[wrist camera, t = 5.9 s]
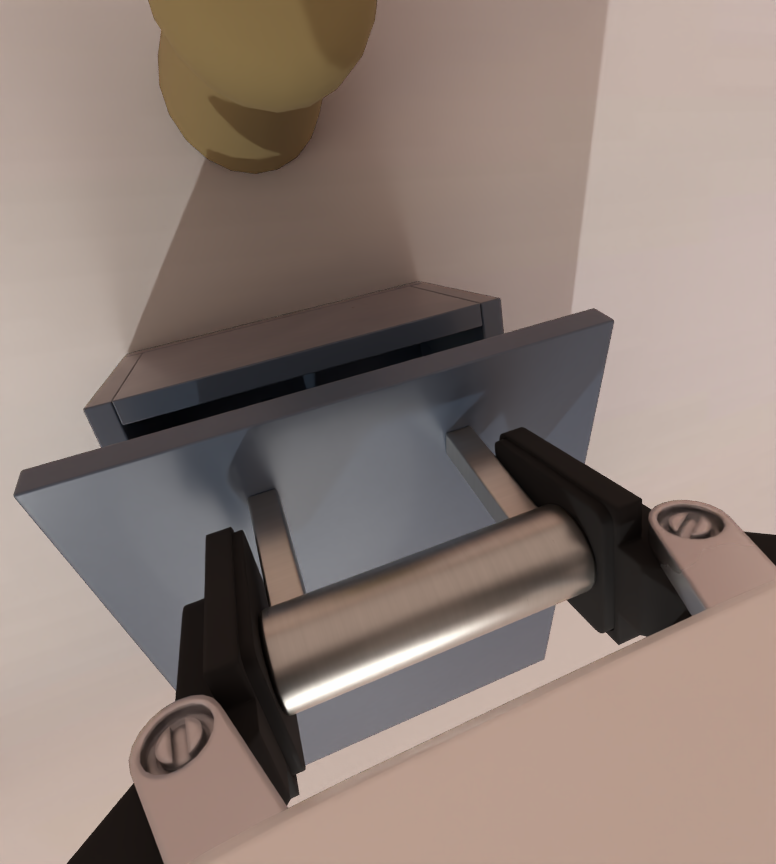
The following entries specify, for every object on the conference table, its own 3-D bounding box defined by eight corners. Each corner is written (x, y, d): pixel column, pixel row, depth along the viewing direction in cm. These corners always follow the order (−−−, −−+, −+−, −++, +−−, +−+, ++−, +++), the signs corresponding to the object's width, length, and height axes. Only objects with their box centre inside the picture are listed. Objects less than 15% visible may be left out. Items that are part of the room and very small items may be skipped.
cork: (209, 196, 20) (203, 157, 11) (122, 19, 18) (7, -253, 8) (343, 141, 21) (453, 58, 11) (279, -36, 18) (351, -344, 9)
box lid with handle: (20, 469, 10) (-75, 767, 6) (594, 307, 13) (803, 432, 9) (253, 767, 21) (276, 944, 17) (535, 644, 24) (614, 770, 20)
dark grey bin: (125, 353, 21) (82, 409, 14) (419, 280, 24) (501, 297, 17) (244, 636, 28) (253, 767, 21) (463, 553, 31) (534, 644, 24)
